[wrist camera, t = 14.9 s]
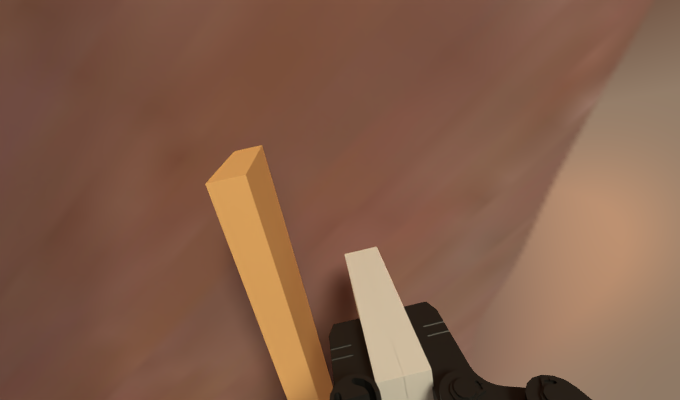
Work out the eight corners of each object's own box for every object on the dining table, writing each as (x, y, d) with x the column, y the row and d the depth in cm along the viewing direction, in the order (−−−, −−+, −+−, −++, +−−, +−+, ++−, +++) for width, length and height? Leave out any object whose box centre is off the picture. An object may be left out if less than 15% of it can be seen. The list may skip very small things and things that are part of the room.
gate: (220, 154, 13) (172, 200, 8) (275, 142, 14) (261, 180, 8) (320, 441, 21) (327, 559, 16) (355, 432, 21) (374, 546, 16)
